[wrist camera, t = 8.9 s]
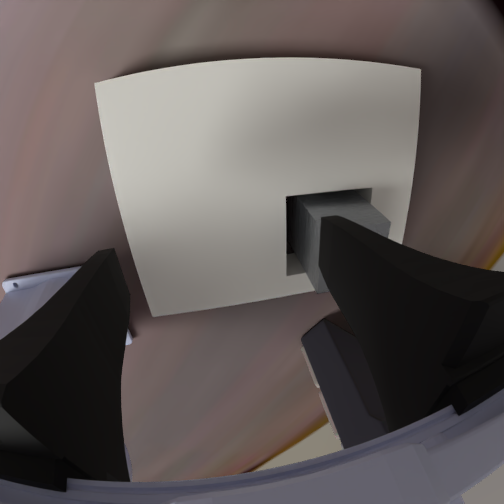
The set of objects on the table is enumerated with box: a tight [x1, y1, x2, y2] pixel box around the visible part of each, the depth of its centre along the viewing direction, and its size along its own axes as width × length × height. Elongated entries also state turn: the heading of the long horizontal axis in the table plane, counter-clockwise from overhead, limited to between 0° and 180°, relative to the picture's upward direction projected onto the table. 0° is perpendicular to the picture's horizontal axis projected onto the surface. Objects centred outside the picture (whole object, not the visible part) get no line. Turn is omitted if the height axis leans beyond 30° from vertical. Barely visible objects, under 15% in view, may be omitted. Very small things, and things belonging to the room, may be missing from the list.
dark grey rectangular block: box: [301, 319, 389, 450], centre depth 24 cm, size 11×4×15 cm, turn 48°
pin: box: [288, 189, 391, 294], centre depth 19 cm, size 4×4×6 cm
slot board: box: [95, 58, 421, 317], centre depth 19 cm, size 18×15×2 cm
